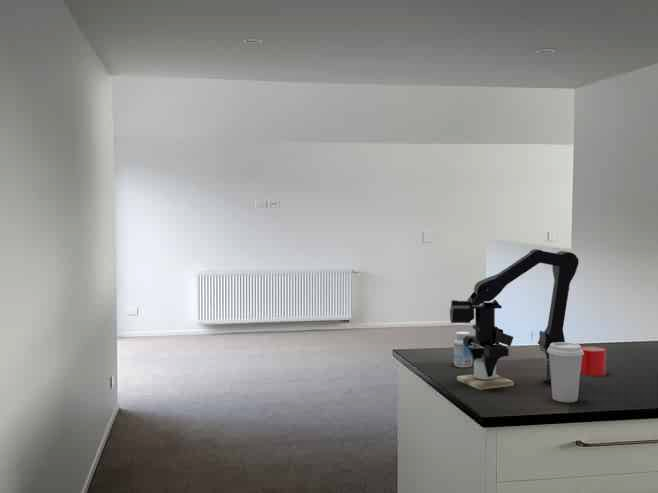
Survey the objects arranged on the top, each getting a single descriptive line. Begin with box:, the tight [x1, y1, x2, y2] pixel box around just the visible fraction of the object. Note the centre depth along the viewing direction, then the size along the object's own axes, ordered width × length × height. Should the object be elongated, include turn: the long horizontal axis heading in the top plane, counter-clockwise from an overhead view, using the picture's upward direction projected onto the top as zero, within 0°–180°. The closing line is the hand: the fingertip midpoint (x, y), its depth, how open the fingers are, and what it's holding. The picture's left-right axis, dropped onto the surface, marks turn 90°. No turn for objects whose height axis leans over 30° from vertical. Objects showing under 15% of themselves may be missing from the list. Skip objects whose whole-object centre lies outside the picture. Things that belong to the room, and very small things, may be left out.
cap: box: [473, 358, 497, 379], centre depth 196 cm, size 6×6×5 cm
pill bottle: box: [453, 331, 473, 368], centre depth 217 cm, size 6×6×11 cm
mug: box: [580, 345, 607, 377], centre depth 208 cm, size 8×12×8 cm, turn 49°
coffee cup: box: [547, 341, 584, 403], centre depth 178 cm, size 10×10×15 cm
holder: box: [456, 373, 515, 391], centre depth 196 cm, size 12×12×3 cm
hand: (484, 374), depth 196 cm, fingers closed on cap, 6 cm apart
